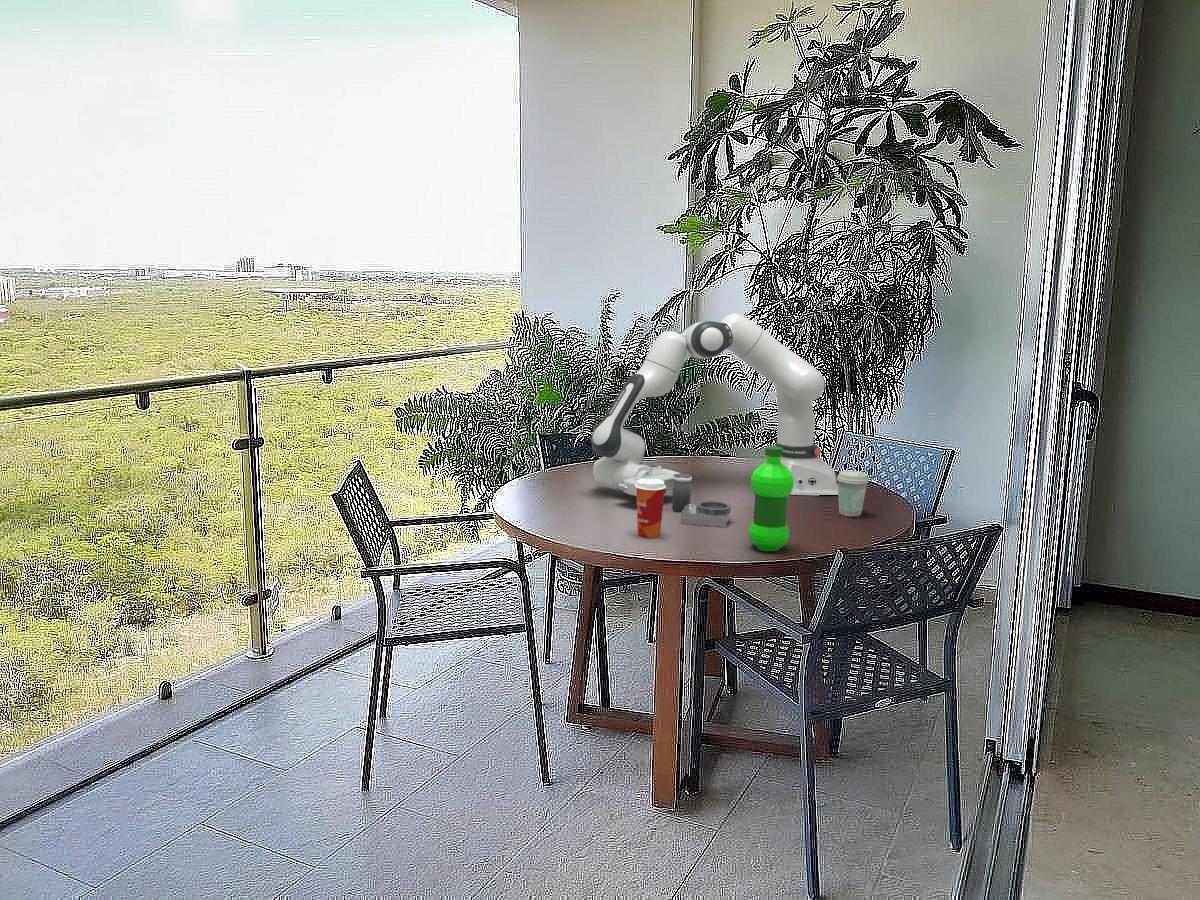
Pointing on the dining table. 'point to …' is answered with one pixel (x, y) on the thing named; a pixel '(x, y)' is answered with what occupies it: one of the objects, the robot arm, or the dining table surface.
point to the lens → (681, 491)
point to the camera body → (706, 513)
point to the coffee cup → (851, 492)
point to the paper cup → (649, 507)
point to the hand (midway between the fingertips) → (675, 488)
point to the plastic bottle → (771, 502)
